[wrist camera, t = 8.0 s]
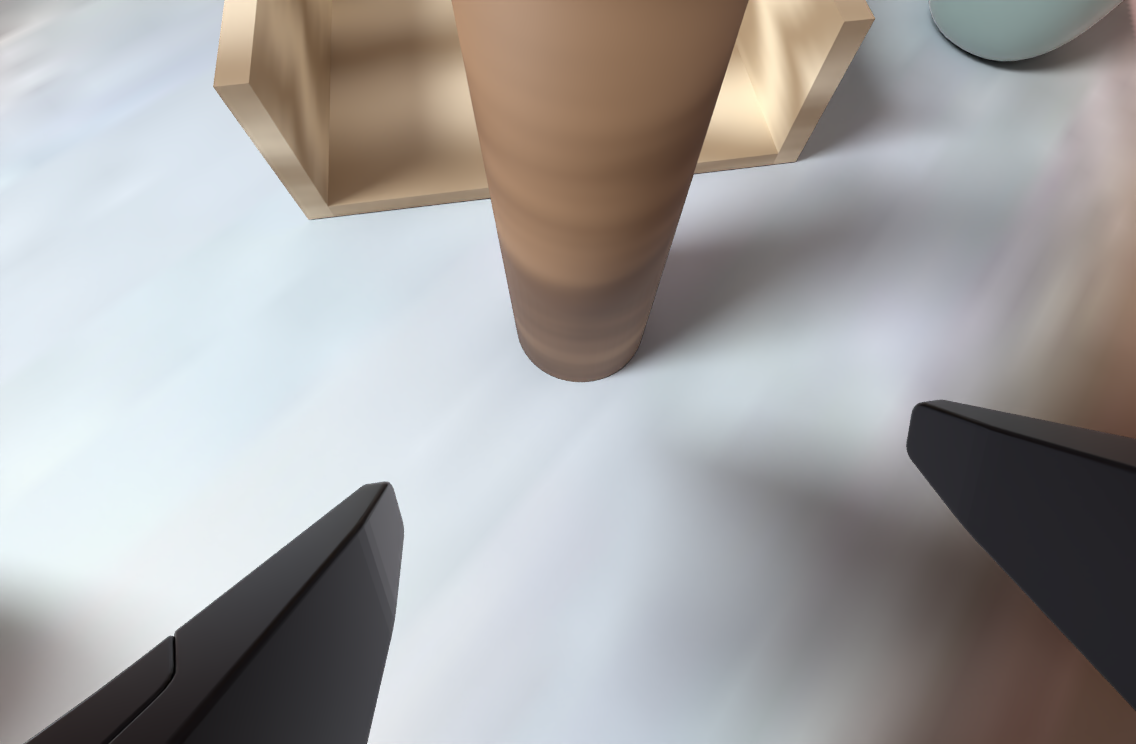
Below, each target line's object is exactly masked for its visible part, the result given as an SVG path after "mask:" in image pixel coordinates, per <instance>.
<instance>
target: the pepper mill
mask: <svg viewBox="0 0 1136 744" xmlns="http://www.w3.org/2000/svg"><path fill="white" fill-rule="evenodd" d="M451 1H452V6H453V11H454V16H455V21H456V27H457V32H458V37H459V42H460V47H461V52H462V57H463V62H464V67H465V72H466V77H467V82H468V87H469V92H470V97H471V102H472V107H473V112H474V117H475V122H476V127H477V132H478V137H479V142H480V147H481V152H482V157H483V162H484V167H485V172H486V177H487V183H488V188H489V193H490V198H491V203H492V208H493V213H494V218H495V223H496V228H497V233H498V238H499V243H500V248H501V253H502V258H503V263H504V268H505V273H506V278H507V283H508V288H509V293H510V298H511V303H512V308H513V313H514V318H515V323H516V328H517V333H518V338H519V341H520V344H521V346H522V348H523V350H524V352H525V354H526V355H527V356H528V358H529V359H530V360H531V361H532V362H533V363H534V364H535V365H536V366H537V367H538V368H540V369H541V370H542V371H544V372H545V373H547V374H549V375H551V376H553V377H556V378H558V379H562V380H566V381H572V382H589V381H595V380H599V379H603V378H605V377H608V376H610V375H612V374H614V373H616V372H617V371H619V370H620V369H621V368H623V367H624V366H625V365H626V364H627V363H628V362H629V361H630V360H631V358H632V357H633V356H634V354H635V353H636V351H637V349H638V347H639V345H640V342H641V339H642V336H643V333H644V329H645V326H646V323H647V320H648V317H649V314H650V310H651V307H652V304H653V301H654V298H655V295H656V292H657V288H658V285H659V282H660V279H661V276H662V273H663V269H664V266H665V263H666V260H667V257H668V254H669V250H670V247H671V244H672V241H673V238H674V235H675V232H676V228H677V225H678V222H679V219H680V216H681V213H682V209H683V206H684V203H685V200H686V197H687V194H688V190H689V187H690V184H691V181H692V178H693V175H694V171H695V168H696V165H697V162H698V159H699V156H700V153H701V149H702V146H703V143H704V140H705V137H706V134H707V130H708V127H709V124H710V121H711V118H712V115H713V111H714V108H715V105H716V102H717V99H718V96H719V92H720V89H721V86H722V83H723V80H724V77H725V74H726V70H727V67H728V64H729V61H730V58H731V55H732V51H733V48H734V45H735V42H736V39H737V36H738V32H739V29H740V26H741V23H742V20H743V17H744V13H745V10H746V7H747V4H748V1H749V0H451Z"/></svg>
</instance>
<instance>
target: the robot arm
mask: <svg viewBox="0 0 1136 744" xmlns="http://www.w3.org/2000/svg"><path fill="white" fill-rule="evenodd" d="M906 447H907V452H908V455H909V457H910V459H911V460H912V462H913V463H914V464H915V465H916V467H917V468H918V469H919V471H920V472H921V473H922V474H923V476H924V477H925V478H926V479H927V481H928V482H929V483H930V485H931V486H932V487H933V488H934V490H935V491H936V492H937V494H938V495H939V496H940V497H941V499H942V500H943V501H944V503H945V504H946V505H947V506H948V508H949V509H950V510H951V512H952V513H953V514H954V515H955V517H956V518H957V519H958V520H959V522H960V523H961V524H962V525H963V526H964V528H965V529H966V530H967V531H968V532H969V533H970V535H971V536H972V537H973V538H974V539H975V540H976V541H977V542H978V543H979V544H980V545H981V547H982V548H983V549H984V550H985V551H986V552H987V553H988V554H989V555H990V556H991V557H992V558H993V559H994V560H995V561H996V563H997V564H998V565H999V566H1000V567H1001V568H1002V569H1003V570H1004V571H1005V572H1006V573H1007V574H1008V575H1009V576H1010V577H1011V579H1012V580H1013V581H1014V582H1015V583H1016V584H1017V585H1018V586H1019V587H1020V588H1021V589H1022V590H1023V591H1024V592H1025V593H1026V595H1027V596H1028V597H1029V598H1030V599H1031V600H1032V601H1033V602H1034V603H1035V604H1036V605H1037V606H1038V607H1039V608H1040V609H1041V611H1042V612H1043V613H1044V614H1045V615H1046V616H1047V617H1048V618H1049V619H1050V620H1051V621H1052V622H1053V623H1054V624H1055V625H1056V627H1057V628H1058V629H1059V630H1060V631H1061V632H1062V633H1063V634H1064V635H1065V636H1066V637H1067V638H1068V639H1069V640H1070V641H1071V643H1072V644H1073V645H1074V646H1075V647H1076V648H1077V649H1078V650H1079V651H1080V652H1081V653H1082V654H1083V655H1084V656H1085V657H1086V659H1087V660H1088V661H1089V662H1090V663H1091V664H1092V665H1093V666H1094V667H1095V668H1096V669H1097V670H1098V671H1099V672H1100V673H1101V675H1102V676H1103V677H1104V678H1105V679H1106V680H1107V681H1108V682H1109V683H1110V684H1111V685H1112V686H1113V687H1114V688H1115V689H1116V691H1117V692H1118V693H1119V694H1120V695H1121V696H1122V697H1123V698H1124V699H1125V700H1126V701H1127V702H1128V703H1129V704H1130V705H1131V707H1132V708H1133V709H1134V710H1135V711H1136V439H1134V438H1129V437H1124V436H1119V435H1114V434H1109V433H1104V432H1099V431H1094V430H1089V429H1084V428H1079V427H1075V426H1070V425H1065V424H1060V423H1055V422H1050V421H1045V420H1040V419H1035V418H1030V417H1025V416H1020V415H1016V414H1011V413H1006V412H1001V411H996V410H991V409H986V408H981V407H976V406H971V405H966V404H962V403H957V402H952V401H947V400H934V401H927V402H921V403H918V404H917V405H915V407H914V408H913V410H912V414H911V420H910V426H909V431H908V437H907V444H906ZM403 540H404V526H403V521H402V517H401V513H400V510H399V506H398V503H397V499H396V496H395V492H394V489H393V487H392V485H391V484H390V483H389V482H378V483H372V484H366V485H363V486H362V487H360V488H359V489H358V490H357V491H355V492H354V493H353V494H351V495H350V496H349V497H348V498H346V499H345V500H344V501H342V502H341V503H340V504H339V505H337V506H336V507H335V508H333V509H332V510H331V511H330V512H328V513H327V514H326V515H324V516H323V517H322V518H321V519H319V520H318V521H317V522H315V523H314V524H313V525H312V526H310V527H309V528H308V529H306V530H305V531H304V532H302V533H301V534H300V535H299V536H297V537H296V538H295V539H293V540H292V541H291V542H290V543H288V544H287V545H286V546H284V547H283V548H282V549H281V550H279V551H278V552H277V553H275V554H274V555H273V556H272V557H270V558H269V559H268V560H266V561H265V562H264V563H263V564H261V565H260V566H259V567H257V568H256V569H255V570H254V571H252V572H251V573H250V574H248V575H247V576H246V577H245V578H243V579H242V580H241V581H239V582H238V583H237V584H236V585H234V586H233V587H232V588H230V589H229V590H228V591H227V592H225V593H224V594H223V595H221V596H220V597H219V598H218V599H216V600H215V601H214V602H212V603H211V604H210V605H209V606H207V607H206V608H205V609H203V610H202V611H201V612H200V613H198V614H197V615H196V616H194V617H193V618H192V619H190V620H189V621H188V622H187V623H185V624H184V625H183V626H181V627H180V628H179V629H178V630H176V631H175V634H174V636H169V637H167V638H166V639H164V640H163V641H162V642H161V643H159V644H158V645H157V646H156V647H154V648H153V649H152V650H150V651H149V652H148V653H147V654H145V655H144V656H143V657H142V658H140V659H139V660H138V661H136V662H135V663H134V664H132V665H131V666H130V667H128V668H127V669H126V670H124V671H123V672H122V673H120V674H119V675H118V676H116V677H115V678H114V679H112V680H111V681H110V682H108V683H107V684H106V685H104V686H103V687H102V688H101V689H99V690H98V691H97V692H95V693H94V694H92V695H91V696H90V697H88V698H87V699H85V700H84V701H83V702H81V703H80V704H78V705H77V706H76V707H74V708H73V709H72V710H70V711H69V712H67V713H66V714H65V715H63V716H62V717H60V718H59V719H58V720H56V721H55V722H53V723H52V724H51V725H49V726H48V727H46V728H45V729H44V730H42V731H41V732H39V733H38V734H37V735H35V736H34V737H32V738H31V739H29V740H28V741H27V742H25V743H24V744H367V742H368V737H369V733H370V729H371V724H372V720H373V716H374V711H375V707H376V702H377V698H378V694H379V689H380V685H381V681H382V676H383V672H384V667H385V663H386V659H387V654H388V650H389V645H390V641H391V637H392V632H393V627H394V621H395V614H396V606H397V597H398V587H399V578H400V569H401V559H402V550H403Z"/></svg>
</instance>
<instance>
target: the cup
mask: <svg viewBox="0 0 1136 744" xmlns="http://www.w3.org/2000/svg"><path fill="white" fill-rule="evenodd" d="M1123 1H1124V0H929V8H930V12H931V15H932V19H933V20H934V22H935V24H936V25H937V27H938V28H939V30H940V31H941V32H942V33H943V35H944V36H945V37H946V38H947V39H949V40H950V41H951V42H952V43H954V44H955V45H956V46H958V47H960V48H961V49H963V50H965V51H967V52H969V53H971V54H973V55H975V56H978V57H981V58H984V59H988V60H993V61H1019V60H1026V59H1029V58H1033V57H1036V56H1040V55H1043V54H1046V53H1048V52H1050V51H1052V50H1055V49H1057V48H1059V47H1061V46H1063V45H1064V44H1066V43H1068V42H1070V41H1072V40H1073V39H1075V38H1076V37H1078V36H1079V35H1081V34H1082V33H1084V32H1086V31H1087V30H1088V29H1090V28H1091V27H1092V26H1094V25H1095V24H1096V23H1097V22H1099V21H1100V20H1101V19H1103V18H1104V17H1105V16H1106V15H1108V14H1109V13H1110V12H1111V11H1112V10H1113V9H1115V8H1116V7H1117V6H1118V5H1119V4H1120V3H1122V2H1123Z"/></svg>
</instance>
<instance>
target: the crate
mask: <svg viewBox="0 0 1136 744" xmlns="http://www.w3.org/2000/svg"><path fill="white" fill-rule="evenodd" d="M874 20H875V17H874V16H873V14H872V12H871V10H870V8H869V6H868V4H867V2H866V1H865V0H749V1H748V4H747V7H746V10H745V13H744V17H743V20H742V23H741V26H740V29H739V32H738V36H737V39H736V42H735V45H734V48H733V51H732V55H731V58H730V61H729V64H728V67H727V70H726V74H725V77H724V80H723V83H722V86H721V89H720V92H719V96H718V99H717V102H716V105H715V108H714V111H713V115H712V118H711V121H710V124H709V127H708V130H707V134H706V137H705V140H704V143H703V146H702V149H701V153H700V156H699V159H698V162H697V165H696V168H695V171H694V174H696V173H704V172H713V171H721V170H730V169H738V168H746V167H755V166H763V165H772V164H780V163H788V162H796V161H797V159H798V157H799V155H800V153H801V152H802V150H803V148H804V146H805V144H806V143H807V141H808V139H809V137H810V135H811V133H812V132H813V130H814V128H815V126H816V124H817V123H818V121H819V119H820V117H821V115H822V114H823V112H824V110H825V108H826V106H827V105H828V103H829V101H830V99H831V97H832V96H833V94H834V92H835V90H836V88H837V86H838V85H839V83H840V81H841V79H842V77H843V76H844V74H845V72H846V70H847V68H848V67H849V65H850V63H851V61H852V59H853V58H854V56H855V54H856V52H857V50H858V49H859V47H860V45H861V43H862V41H863V39H864V38H865V36H866V34H867V32H868V30H869V29H870V27H871V25H872V23H873V21H874ZM213 87H214V89H215V90H216V91H217V93H218V94H219V96H220V97H221V98H222V100H223V101H224V103H225V104H226V105H227V107H228V108H229V110H230V111H231V112H232V114H233V115H234V116H235V118H236V119H237V121H238V122H239V123H240V125H241V126H242V128H243V129H244V130H245V132H246V133H247V135H248V136H249V137H250V139H251V140H252V142H253V143H254V144H255V146H256V147H257V149H258V150H259V151H260V153H261V154H262V155H263V157H264V158H265V160H266V161H267V162H268V164H269V165H270V167H271V168H272V169H273V171H274V172H275V174H276V175H277V176H278V178H279V179H280V181H281V182H282V183H283V185H284V186H285V188H286V189H287V190H288V192H289V193H290V194H291V196H292V197H293V199H294V200H295V201H296V203H297V204H298V206H299V207H300V208H301V210H302V211H303V213H304V214H305V215H306V217H307V218H308V220H310V219H318V218H326V217H335V216H343V215H352V214H360V213H368V212H377V211H385V210H394V209H402V208H410V207H419V206H427V205H436V204H444V203H452V202H461V201H469V200H478V199H486V198H490V193H489V188H488V183H487V177H486V172H485V167H484V162H483V157H482V152H481V147H480V142H479V137H478V132H477V127H476V122H475V117H474V112H473V107H472V102H471V97H470V92H469V87H468V82H467V77H466V72H465V67H464V62H463V57H462V52H461V47H460V42H459V37H458V32H457V27H456V21H455V16H454V11H453V6H452V1H451V0H225V2H224V9H223V17H222V24H221V32H220V39H219V47H218V54H217V62H216V70H215V77H214V85H213Z"/></svg>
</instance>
